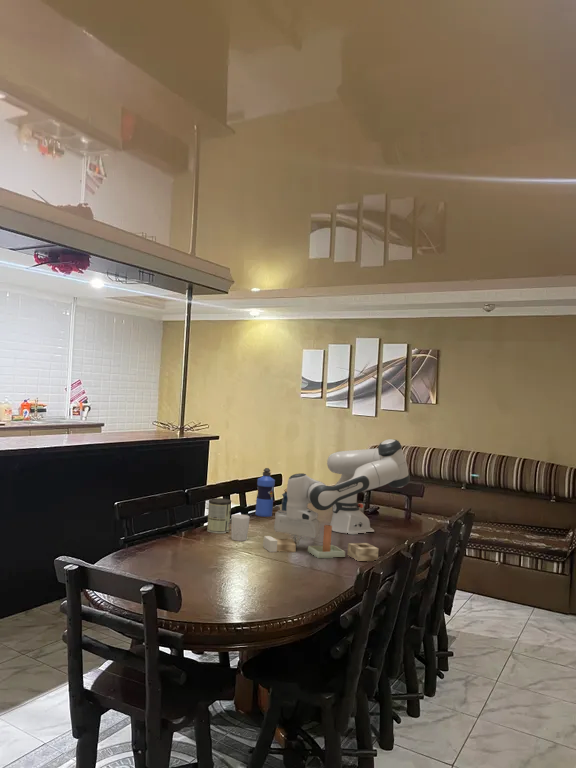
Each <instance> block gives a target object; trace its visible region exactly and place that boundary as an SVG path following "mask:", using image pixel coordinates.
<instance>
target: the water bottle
mask: <svg viewBox="0 0 576 768" xmlns="http://www.w3.org/2000/svg"><path fill="white" fill-rule="evenodd" d="M271 475H272V473H271V469H270V468H269V467H265V468H264V469H263V472H262V476H261V477H258V478H257V482H256V485H257V494H256V500H255V515H256V516H257V517H261V518H262V517H264V518H267V517H268V518H270V517H272V516H273V508H274V507H273V506H274V505H273V504H274V489H275V485H276V483H275V482H276V479H274V478H273V477H271Z"/></svg>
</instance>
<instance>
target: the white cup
mask: <svg viewBox="0 0 576 768" xmlns="http://www.w3.org/2000/svg"><path fill="white" fill-rule="evenodd" d="M250 517H251V516H249V515H247V514H241V513H240V514H239V513H238V514H232V515H231V529H230V531H231V535H230V537H231V540H232V541H239V542H243V541H247V539H248V534H249V527H250Z"/></svg>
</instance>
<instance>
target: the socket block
mask: <svg viewBox="0 0 576 768" xmlns="http://www.w3.org/2000/svg"><path fill="white" fill-rule="evenodd" d="M379 549H380V548H379V547H376V546H374V545H372V544H370V543H368V542H353V543H352V542H351V543H347V554H346V556H347V555H349V556H350V557H352V558H354V559H355V561H356V560H357V561H367V562H375V561H374V560H376V559H377V558H378V559H379ZM349 556H348V557H349ZM350 557H349V558H350ZM352 558H351V559H352ZM354 559H353V560H354ZM357 561H356V562H357Z"/></svg>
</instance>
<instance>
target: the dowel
mask: <svg viewBox="0 0 576 768" xmlns="http://www.w3.org/2000/svg"><path fill="white" fill-rule="evenodd" d="M322 540H323V541H322V546H323V551H322V552H330V549H331V545H332V526H331V525H330V524H325V525H323V539H322Z"/></svg>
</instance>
